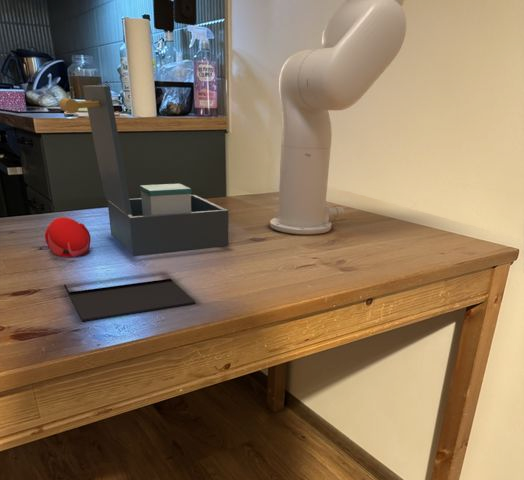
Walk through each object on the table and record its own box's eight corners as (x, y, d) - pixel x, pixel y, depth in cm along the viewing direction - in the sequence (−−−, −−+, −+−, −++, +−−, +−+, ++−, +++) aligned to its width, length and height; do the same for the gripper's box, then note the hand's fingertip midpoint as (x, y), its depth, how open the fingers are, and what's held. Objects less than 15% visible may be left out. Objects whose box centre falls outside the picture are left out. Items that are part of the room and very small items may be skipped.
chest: (196, 230, 98) (195, 194, 95) (228, 250, 86) (228, 210, 83) (111, 238, 91) (107, 200, 88) (133, 260, 79) (129, 217, 76)
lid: (87, 85, 79) (51, 87, 77) (109, 85, 67) (67, 88, 65) (109, 197, 88) (76, 201, 86) (132, 214, 76) (95, 220, 74)
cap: (101, 257, 80) (96, 220, 77) (65, 265, 76) (59, 225, 73) (76, 247, 85) (71, 211, 82) (42, 253, 81) (35, 216, 78)
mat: (163, 273, 74) (163, 271, 74) (195, 303, 64) (195, 301, 64) (64, 286, 68) (64, 284, 68) (82, 321, 58) (82, 319, 58)
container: (182, 234, 92) (179, 183, 88) (193, 241, 88) (191, 188, 83) (143, 237, 89) (139, 185, 85) (153, 245, 84) (149, 190, 80)
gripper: (221, -135, 63) (219, 24, 71) (176, -96, 77) (178, 34, 85) (164, -151, 60) (168, 18, 68) (127, -108, 74) (134, 29, 81)
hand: (174, 26), depth 76 cm, fingers open, 9 cm apart
